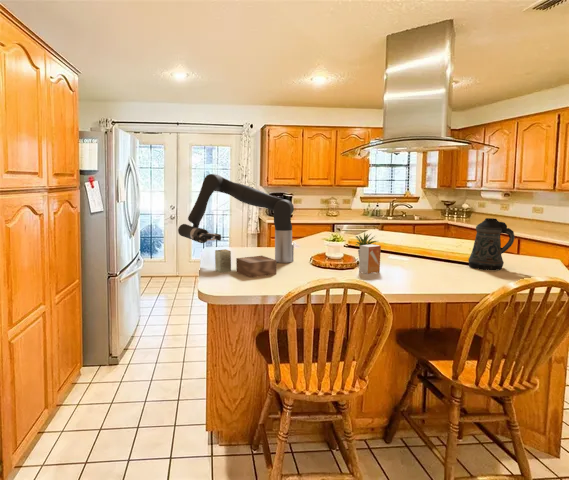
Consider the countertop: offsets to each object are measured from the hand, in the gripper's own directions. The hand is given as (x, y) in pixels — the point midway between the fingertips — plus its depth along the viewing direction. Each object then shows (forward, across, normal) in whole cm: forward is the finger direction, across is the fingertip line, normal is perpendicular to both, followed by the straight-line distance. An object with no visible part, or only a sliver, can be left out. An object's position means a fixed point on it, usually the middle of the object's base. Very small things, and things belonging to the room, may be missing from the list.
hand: (212, 239), depth 227 cm
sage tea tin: (+12, 0, +14) cm, 18 cm away
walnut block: (+24, +11, +14) cm, 31 cm away
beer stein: (+77, +117, +12) cm, 141 cm away
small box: (+52, +58, +13) cm, 80 cm away
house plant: (+32, +73, +13) cm, 81 cm away
